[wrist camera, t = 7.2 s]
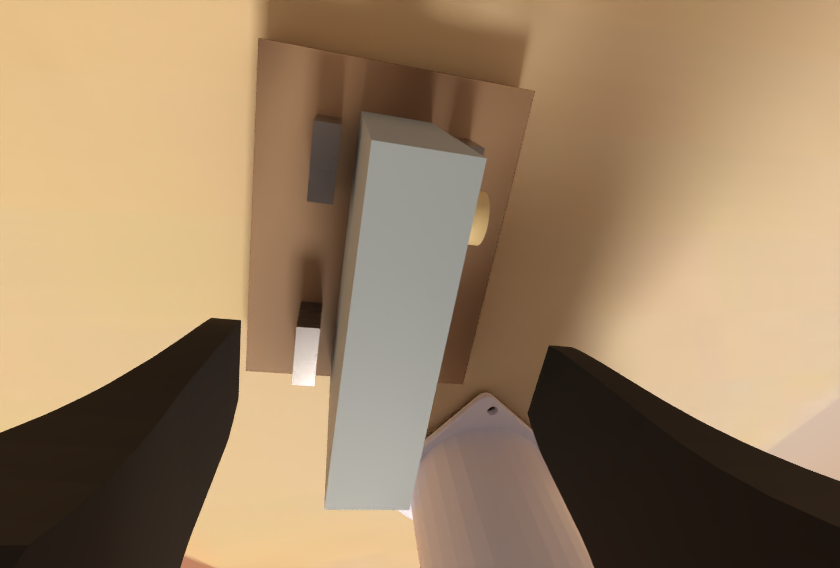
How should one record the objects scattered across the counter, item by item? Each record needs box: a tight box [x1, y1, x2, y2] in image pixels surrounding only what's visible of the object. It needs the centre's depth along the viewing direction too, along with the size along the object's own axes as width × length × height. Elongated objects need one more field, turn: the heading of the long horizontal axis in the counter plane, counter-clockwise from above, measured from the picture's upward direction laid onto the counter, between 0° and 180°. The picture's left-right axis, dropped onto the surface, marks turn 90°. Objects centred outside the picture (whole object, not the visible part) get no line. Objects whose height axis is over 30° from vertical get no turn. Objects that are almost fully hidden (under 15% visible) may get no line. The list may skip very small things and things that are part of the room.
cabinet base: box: [246, 38, 535, 384], centre depth 18 cm, size 9×12×2 cm
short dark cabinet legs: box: [292, 114, 485, 386], centre depth 17 cm, size 5×9×2 cm, turn 170°
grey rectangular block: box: [324, 111, 490, 510], centre depth 15 cm, size 3×10×7 cm, turn 171°
